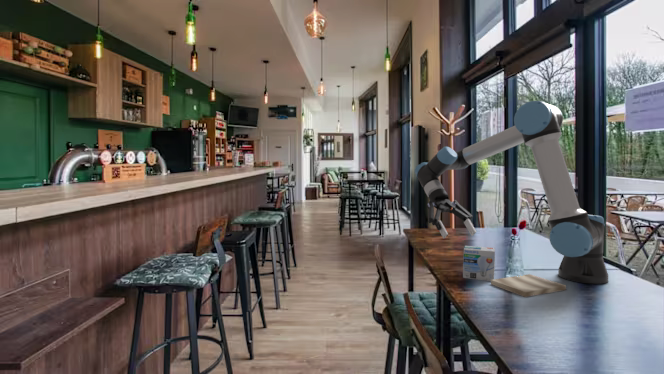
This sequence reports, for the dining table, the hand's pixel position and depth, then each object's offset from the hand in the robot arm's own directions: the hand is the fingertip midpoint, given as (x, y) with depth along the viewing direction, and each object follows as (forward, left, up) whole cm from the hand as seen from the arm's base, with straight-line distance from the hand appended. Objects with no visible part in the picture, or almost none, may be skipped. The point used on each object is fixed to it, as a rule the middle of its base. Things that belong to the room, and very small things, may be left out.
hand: (460, 235), depth 149 cm
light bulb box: (0, +10, -14) cm, 17 cm away
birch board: (-7, +25, -14) cm, 29 cm away
